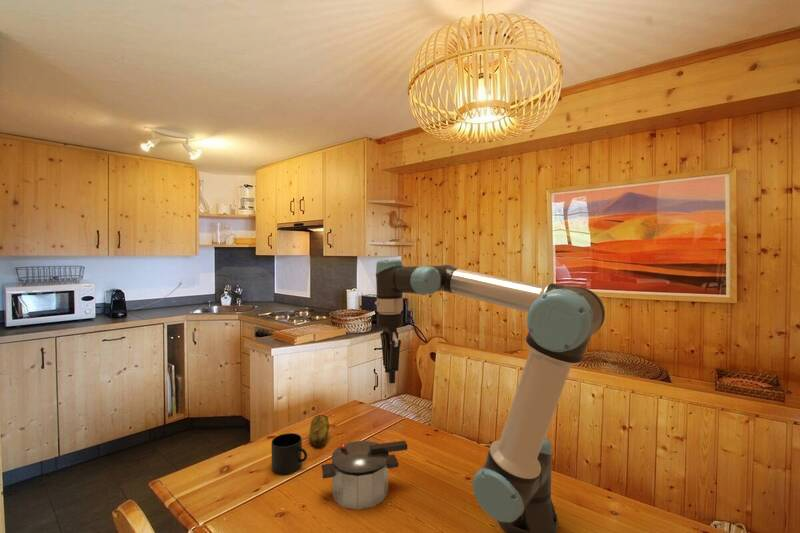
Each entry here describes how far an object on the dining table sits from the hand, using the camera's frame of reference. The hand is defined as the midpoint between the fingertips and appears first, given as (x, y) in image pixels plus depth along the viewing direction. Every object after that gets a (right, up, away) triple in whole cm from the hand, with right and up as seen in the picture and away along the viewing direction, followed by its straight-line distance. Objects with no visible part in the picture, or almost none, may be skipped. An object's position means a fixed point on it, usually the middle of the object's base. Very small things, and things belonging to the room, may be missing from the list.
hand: (390, 392), depth 110 cm
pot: (-9, -29, +1) cm, 31 cm away
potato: (-28, -28, +31) cm, 50 cm away
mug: (-33, -29, +13) cm, 46 cm away
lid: (-6, -19, +1) cm, 20 cm away
